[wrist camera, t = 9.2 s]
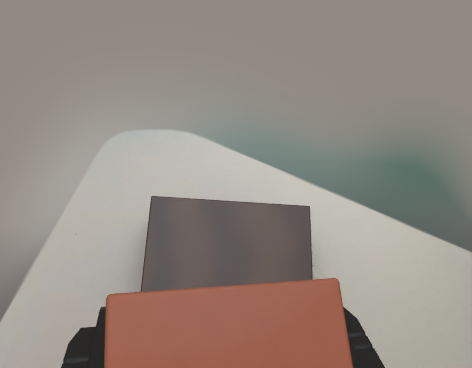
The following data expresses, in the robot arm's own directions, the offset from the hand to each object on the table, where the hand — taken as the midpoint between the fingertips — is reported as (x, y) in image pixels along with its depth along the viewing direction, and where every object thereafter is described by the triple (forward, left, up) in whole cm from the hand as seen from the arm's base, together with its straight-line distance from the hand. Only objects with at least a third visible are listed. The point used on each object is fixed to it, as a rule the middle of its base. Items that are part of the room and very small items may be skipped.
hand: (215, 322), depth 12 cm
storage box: (-1, -5, -24) cm, 24 cm away
